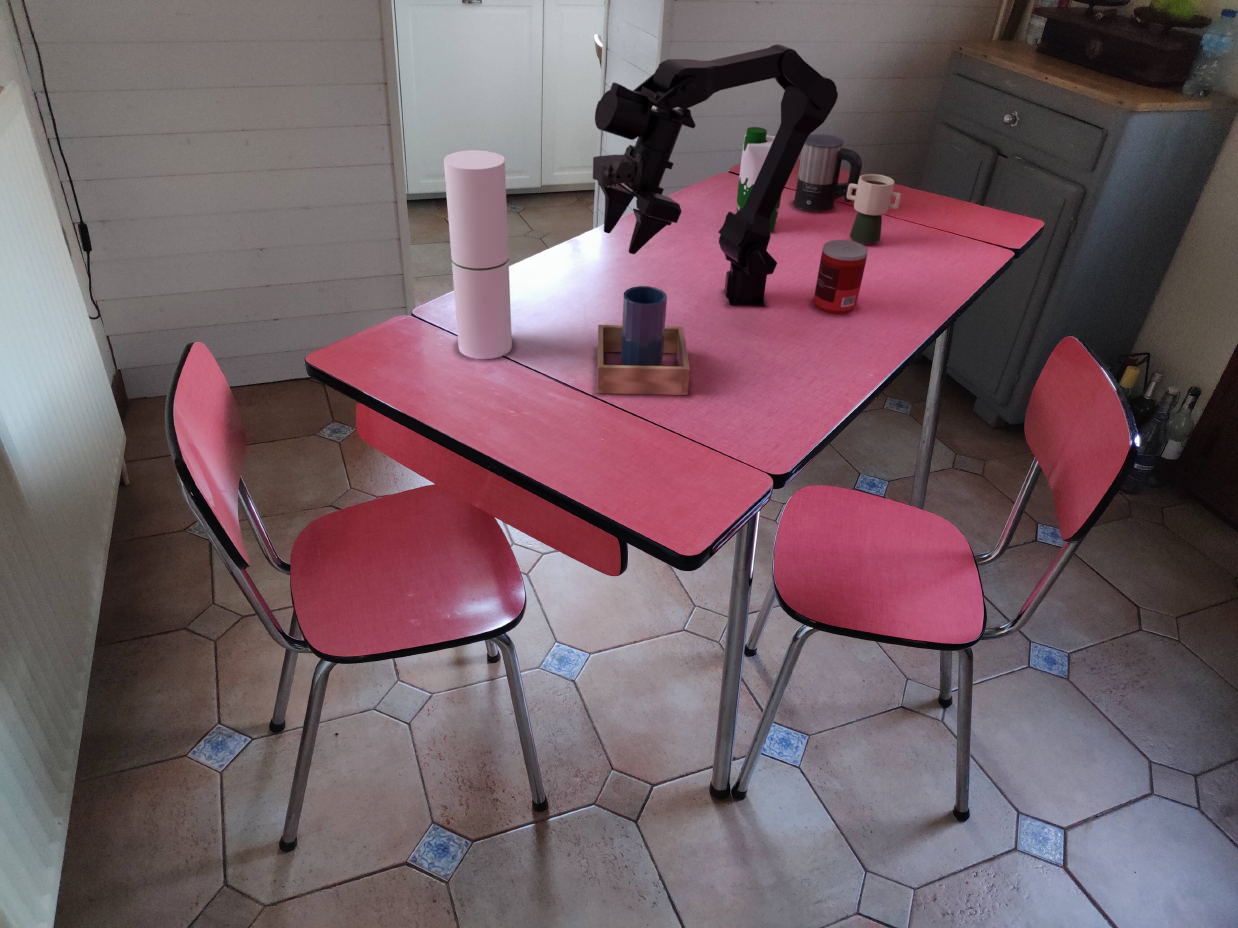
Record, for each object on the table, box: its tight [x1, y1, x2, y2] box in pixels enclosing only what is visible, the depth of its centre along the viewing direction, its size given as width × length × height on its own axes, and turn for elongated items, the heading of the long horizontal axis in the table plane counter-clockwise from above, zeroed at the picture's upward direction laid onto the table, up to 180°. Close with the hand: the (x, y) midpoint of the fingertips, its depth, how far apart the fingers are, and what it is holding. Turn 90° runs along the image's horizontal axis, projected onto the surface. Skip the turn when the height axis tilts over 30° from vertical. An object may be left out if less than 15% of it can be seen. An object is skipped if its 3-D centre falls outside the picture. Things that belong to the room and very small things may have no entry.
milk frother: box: [792, 133, 863, 213], centre depth 200 cm, size 14×16×15 cm
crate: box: [596, 324, 691, 396], centre depth 138 cm, size 14×14×4 cm
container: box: [443, 149, 513, 360], centre depth 135 cm, size 9×9×30 cm
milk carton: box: [736, 126, 782, 233], centre depth 185 cm, size 9×9×20 cm
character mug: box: [847, 173, 902, 245], centre depth 182 cm, size 11×7×13 cm, turn 61°
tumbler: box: [620, 285, 668, 366], centre depth 135 cm, size 6×6×13 cm
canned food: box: [813, 239, 869, 316], centre depth 157 cm, size 8×8×11 cm
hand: (618, 243), depth 144 cm, fingers open, 9 cm apart
